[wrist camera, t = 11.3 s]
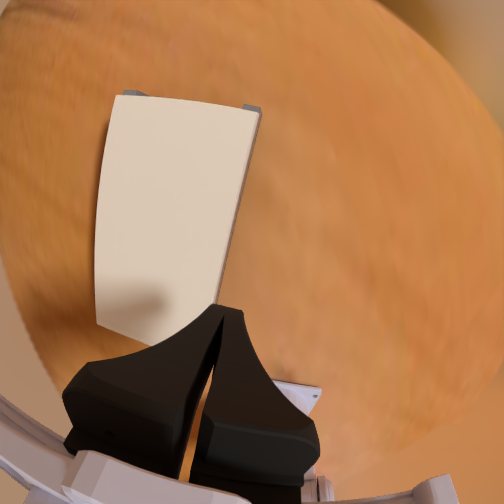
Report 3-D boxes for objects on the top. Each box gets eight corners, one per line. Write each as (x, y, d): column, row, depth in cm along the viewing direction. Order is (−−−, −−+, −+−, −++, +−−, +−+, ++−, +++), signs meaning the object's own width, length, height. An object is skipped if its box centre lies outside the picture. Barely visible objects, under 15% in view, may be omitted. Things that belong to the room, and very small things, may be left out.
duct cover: (204, 355, 20) (202, 362, 19) (101, 319, 20) (96, 324, 19) (260, 115, 14) (258, 112, 14) (122, 96, 14) (116, 95, 14)
